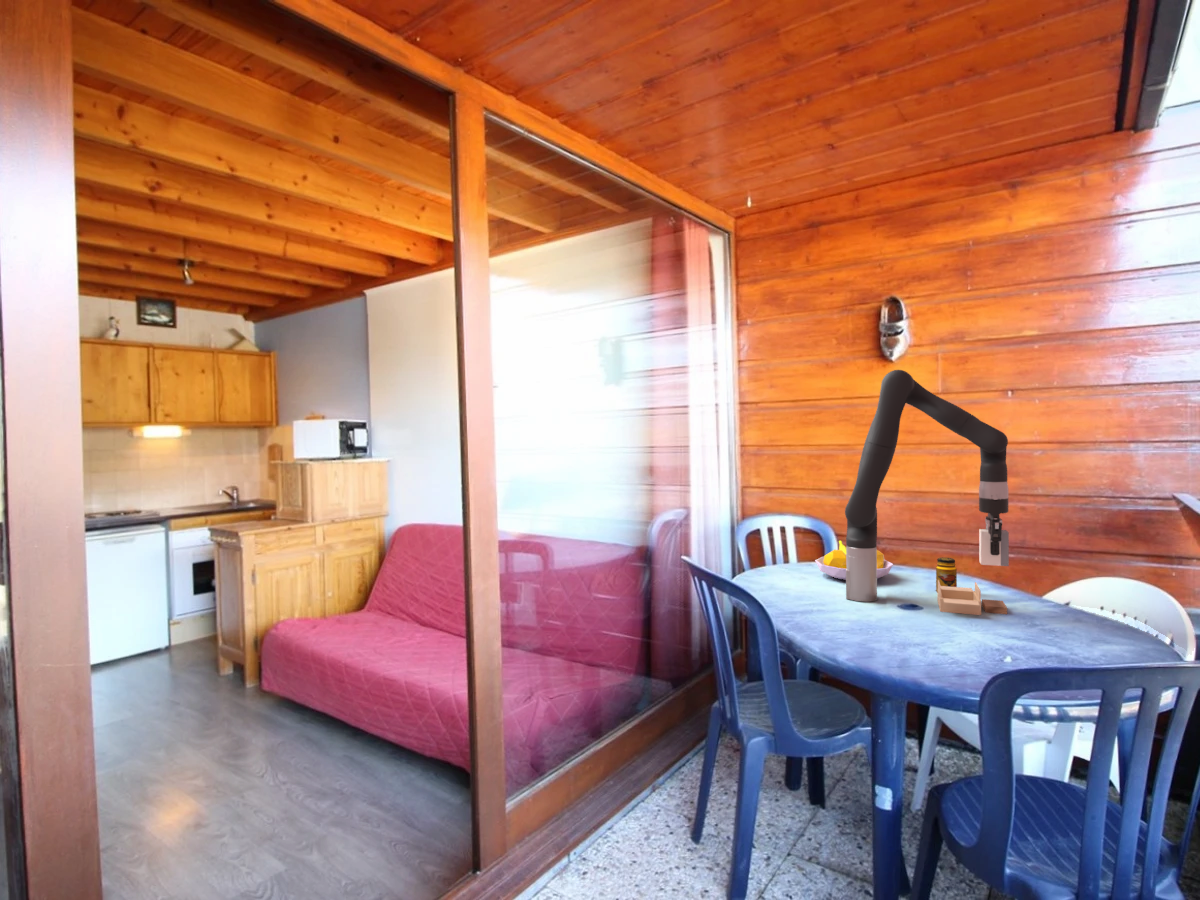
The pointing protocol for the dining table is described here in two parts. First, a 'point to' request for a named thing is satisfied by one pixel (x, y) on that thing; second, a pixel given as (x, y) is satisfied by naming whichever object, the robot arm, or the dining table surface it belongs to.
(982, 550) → the box
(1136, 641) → the dining table surface
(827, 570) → the fruit bowl
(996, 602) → the stand
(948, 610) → the wooden tray
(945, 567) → the condiment
